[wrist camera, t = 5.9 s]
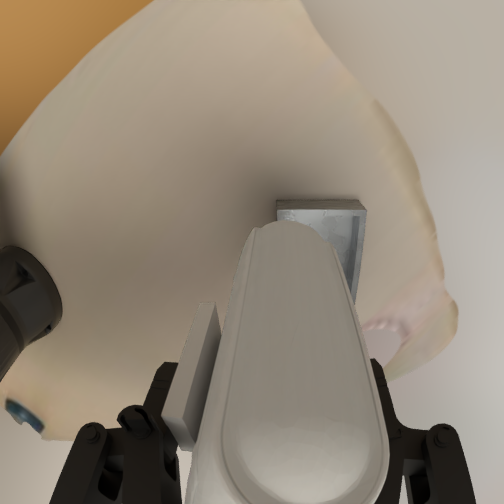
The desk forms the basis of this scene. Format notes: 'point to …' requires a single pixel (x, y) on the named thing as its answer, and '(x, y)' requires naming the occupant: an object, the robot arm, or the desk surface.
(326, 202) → the grey rectangular tray
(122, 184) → the desk surface
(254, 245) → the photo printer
